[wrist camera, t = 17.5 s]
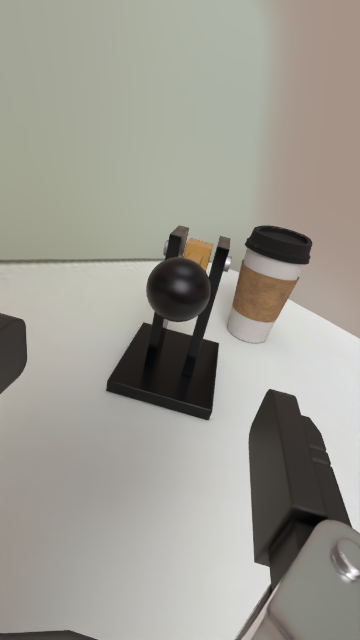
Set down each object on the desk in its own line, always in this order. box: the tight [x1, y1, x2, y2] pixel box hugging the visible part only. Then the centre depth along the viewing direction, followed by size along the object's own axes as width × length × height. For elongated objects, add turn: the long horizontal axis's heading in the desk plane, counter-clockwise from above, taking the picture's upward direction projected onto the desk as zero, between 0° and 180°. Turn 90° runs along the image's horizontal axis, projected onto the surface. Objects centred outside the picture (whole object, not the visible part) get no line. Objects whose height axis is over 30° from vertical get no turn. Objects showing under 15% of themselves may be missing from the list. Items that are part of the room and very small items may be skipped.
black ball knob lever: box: [146, 238, 213, 322], centre depth 21 cm, size 14×4×4 cm, turn 170°
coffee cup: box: [228, 226, 312, 343], centre depth 41 cm, size 8×8×15 cm
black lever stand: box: [106, 226, 232, 420], centre depth 29 cm, size 12×10×15 cm
